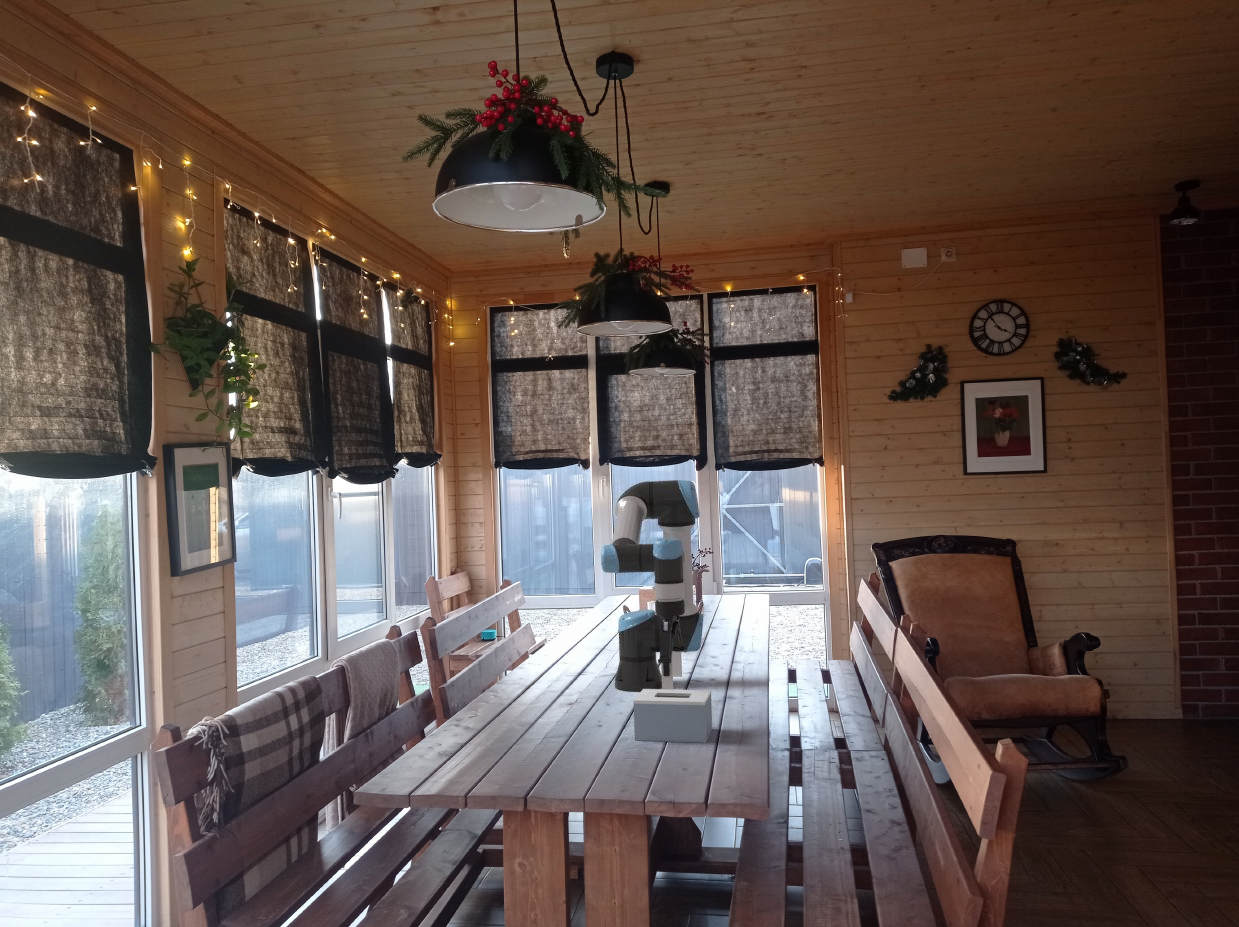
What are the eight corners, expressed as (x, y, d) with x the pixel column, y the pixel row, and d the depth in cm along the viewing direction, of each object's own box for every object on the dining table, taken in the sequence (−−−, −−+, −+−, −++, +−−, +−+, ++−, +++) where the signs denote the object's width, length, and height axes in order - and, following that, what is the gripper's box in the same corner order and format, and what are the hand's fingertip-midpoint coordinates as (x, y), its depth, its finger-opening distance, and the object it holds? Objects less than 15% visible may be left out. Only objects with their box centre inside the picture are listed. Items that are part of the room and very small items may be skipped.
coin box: (644, 726, 242) (643, 688, 242) (712, 729, 238) (711, 690, 238) (634, 740, 230) (633, 700, 230) (706, 742, 226) (704, 702, 226)
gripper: (663, 592, 247) (666, 671, 247) (645, 606, 223) (648, 694, 223) (691, 592, 245) (694, 672, 245) (676, 606, 221) (678, 694, 221)
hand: (672, 682), depth 234 cm, fingers open, 13 cm apart
